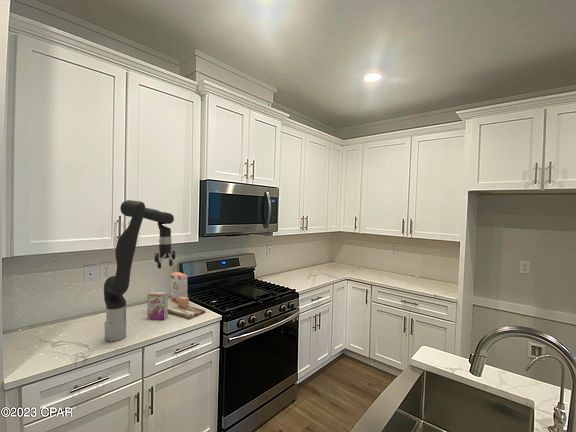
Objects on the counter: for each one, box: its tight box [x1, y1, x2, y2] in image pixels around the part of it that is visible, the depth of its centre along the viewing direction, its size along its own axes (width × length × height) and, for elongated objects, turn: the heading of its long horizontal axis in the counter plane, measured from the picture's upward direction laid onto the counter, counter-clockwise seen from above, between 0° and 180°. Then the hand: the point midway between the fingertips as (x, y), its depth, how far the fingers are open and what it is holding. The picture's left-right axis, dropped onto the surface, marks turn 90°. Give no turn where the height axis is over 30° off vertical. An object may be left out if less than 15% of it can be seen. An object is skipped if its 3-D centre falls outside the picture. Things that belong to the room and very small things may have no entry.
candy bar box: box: [147, 291, 169, 321], centre depth 181 cm, size 11×5×16 cm, turn 84°
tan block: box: [177, 296, 190, 308], centre depth 198 cm, size 4×6×6 cm, turn 61°
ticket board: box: [168, 305, 206, 321], centre depth 192 cm, size 14×22×3 cm, turn 60°
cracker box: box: [170, 271, 188, 304], centre depth 212 cm, size 14×6×21 cm, turn 49°
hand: (165, 267), depth 192 cm, fingers open, 8 cm apart
